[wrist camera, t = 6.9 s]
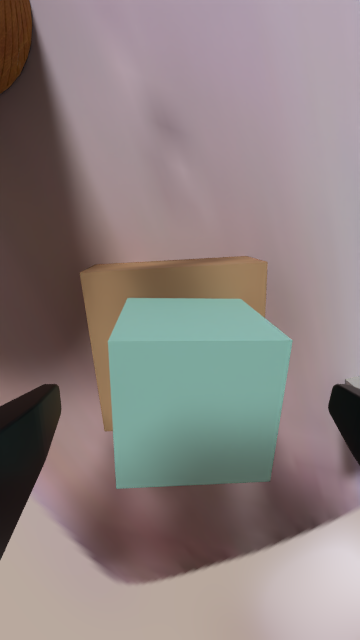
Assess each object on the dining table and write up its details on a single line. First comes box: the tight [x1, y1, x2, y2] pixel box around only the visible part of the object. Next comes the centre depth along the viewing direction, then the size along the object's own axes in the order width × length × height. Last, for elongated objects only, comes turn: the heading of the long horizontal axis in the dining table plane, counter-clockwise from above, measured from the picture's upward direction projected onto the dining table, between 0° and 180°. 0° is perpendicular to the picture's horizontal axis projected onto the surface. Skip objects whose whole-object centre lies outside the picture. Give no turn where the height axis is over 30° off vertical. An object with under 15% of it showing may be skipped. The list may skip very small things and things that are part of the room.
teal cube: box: [108, 298, 292, 489], centre depth 11 cm, size 5×5×5 cm
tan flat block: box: [80, 256, 267, 431], centre depth 15 cm, size 8×8×4 cm
